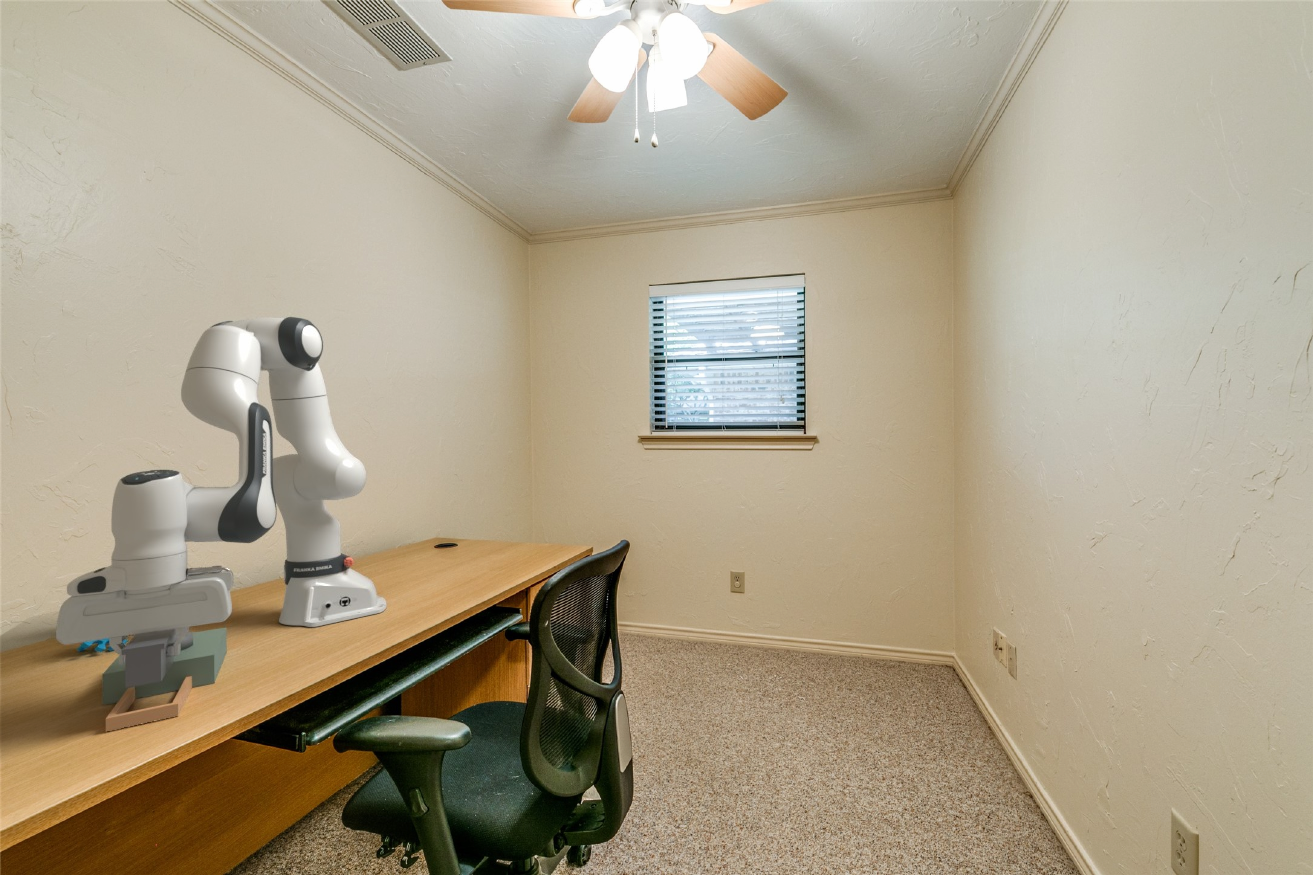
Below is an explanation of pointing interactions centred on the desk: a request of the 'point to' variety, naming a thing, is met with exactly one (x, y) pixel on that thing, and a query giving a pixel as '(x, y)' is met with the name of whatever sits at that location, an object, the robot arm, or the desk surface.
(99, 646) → the gear
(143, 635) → the grey stepped block
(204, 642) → the green panel with knob
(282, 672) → the desk surface
